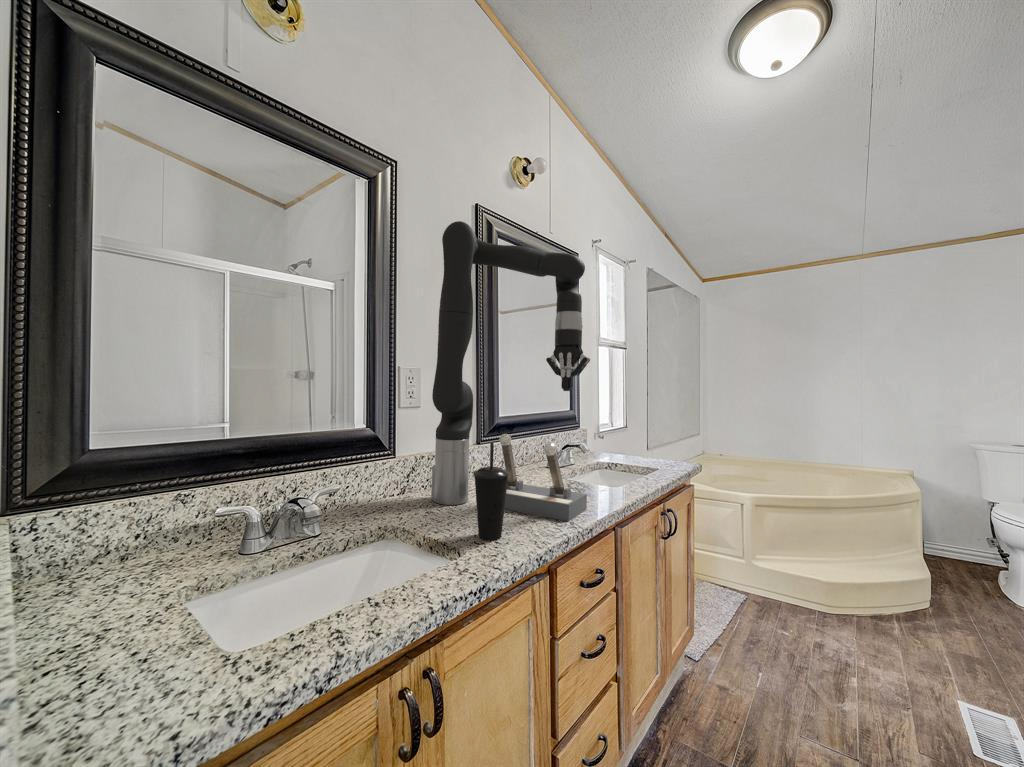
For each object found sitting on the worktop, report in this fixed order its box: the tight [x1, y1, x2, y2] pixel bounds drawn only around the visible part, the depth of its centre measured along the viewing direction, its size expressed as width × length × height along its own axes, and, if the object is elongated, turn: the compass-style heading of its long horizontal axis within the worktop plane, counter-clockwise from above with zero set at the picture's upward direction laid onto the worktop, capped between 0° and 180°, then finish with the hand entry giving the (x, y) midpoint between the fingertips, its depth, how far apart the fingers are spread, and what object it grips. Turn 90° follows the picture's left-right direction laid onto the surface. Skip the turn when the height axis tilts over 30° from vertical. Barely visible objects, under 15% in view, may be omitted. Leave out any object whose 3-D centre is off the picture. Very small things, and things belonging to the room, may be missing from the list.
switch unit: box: [504, 480, 588, 522], centre depth 114 cm, size 24×12×6 cm, turn 60°
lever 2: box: [543, 442, 565, 495], centre depth 107 cm, size 3×3×15 cm
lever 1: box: [498, 433, 518, 487], centre depth 115 cm, size 3×3×15 cm
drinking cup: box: [472, 441, 509, 541], centre depth 91 cm, size 8×8×20 cm
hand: (567, 390), depth 120 cm, fingers closed
